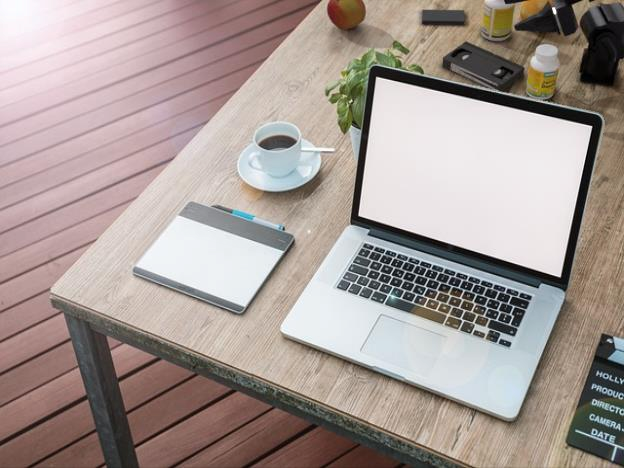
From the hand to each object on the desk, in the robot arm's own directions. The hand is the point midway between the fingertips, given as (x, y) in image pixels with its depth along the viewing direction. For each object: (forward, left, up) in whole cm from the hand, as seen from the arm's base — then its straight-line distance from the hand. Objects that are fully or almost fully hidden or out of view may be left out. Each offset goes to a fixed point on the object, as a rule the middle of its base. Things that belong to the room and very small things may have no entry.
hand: (509, 14), depth 155 cm
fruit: (-4, -22, -15) cm, 27 cm away
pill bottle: (+4, -16, -15) cm, 22 cm away
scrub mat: (+16, -19, -15) cm, 29 cm away
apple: (+35, -10, -15) cm, 39 cm away
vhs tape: (+4, -2, -15) cm, 15 cm away
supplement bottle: (-8, +2, -15) cm, 17 cm away
